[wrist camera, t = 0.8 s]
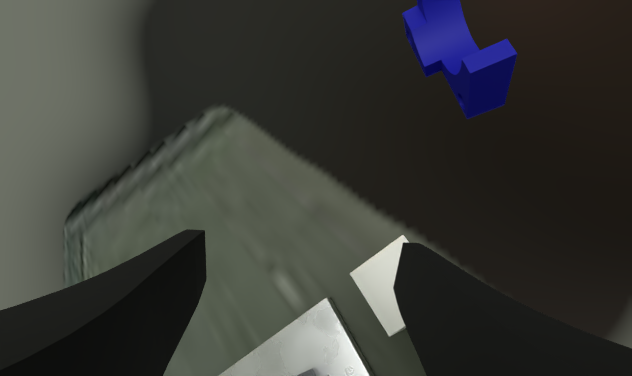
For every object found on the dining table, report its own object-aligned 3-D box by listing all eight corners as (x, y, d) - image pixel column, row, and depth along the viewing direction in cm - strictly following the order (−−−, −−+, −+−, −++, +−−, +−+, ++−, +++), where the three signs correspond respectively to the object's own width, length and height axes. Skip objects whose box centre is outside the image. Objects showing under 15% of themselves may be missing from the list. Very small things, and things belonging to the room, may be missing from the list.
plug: (451, 297, 22) (450, 294, 16) (407, 327, 22) (389, 336, 16) (415, 252, 24) (402, 234, 18) (375, 281, 24) (349, 273, 18)
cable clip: (406, 36, 31) (397, -16, 26) (450, 15, 30) (449, -44, 25) (449, 126, 26) (448, 82, 21) (504, 105, 25) (517, 53, 20)
